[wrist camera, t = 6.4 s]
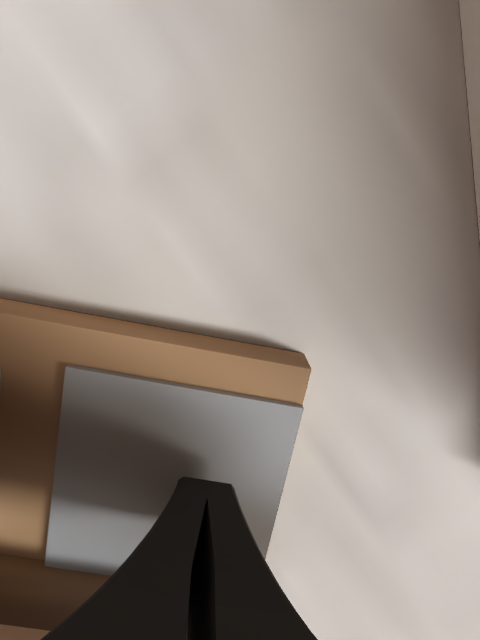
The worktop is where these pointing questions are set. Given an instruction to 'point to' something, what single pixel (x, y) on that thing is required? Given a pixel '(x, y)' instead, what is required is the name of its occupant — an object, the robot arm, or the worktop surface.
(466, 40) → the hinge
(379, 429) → the worktop surface
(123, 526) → the rail
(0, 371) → the metal cube with knob
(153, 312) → the worktop surface
